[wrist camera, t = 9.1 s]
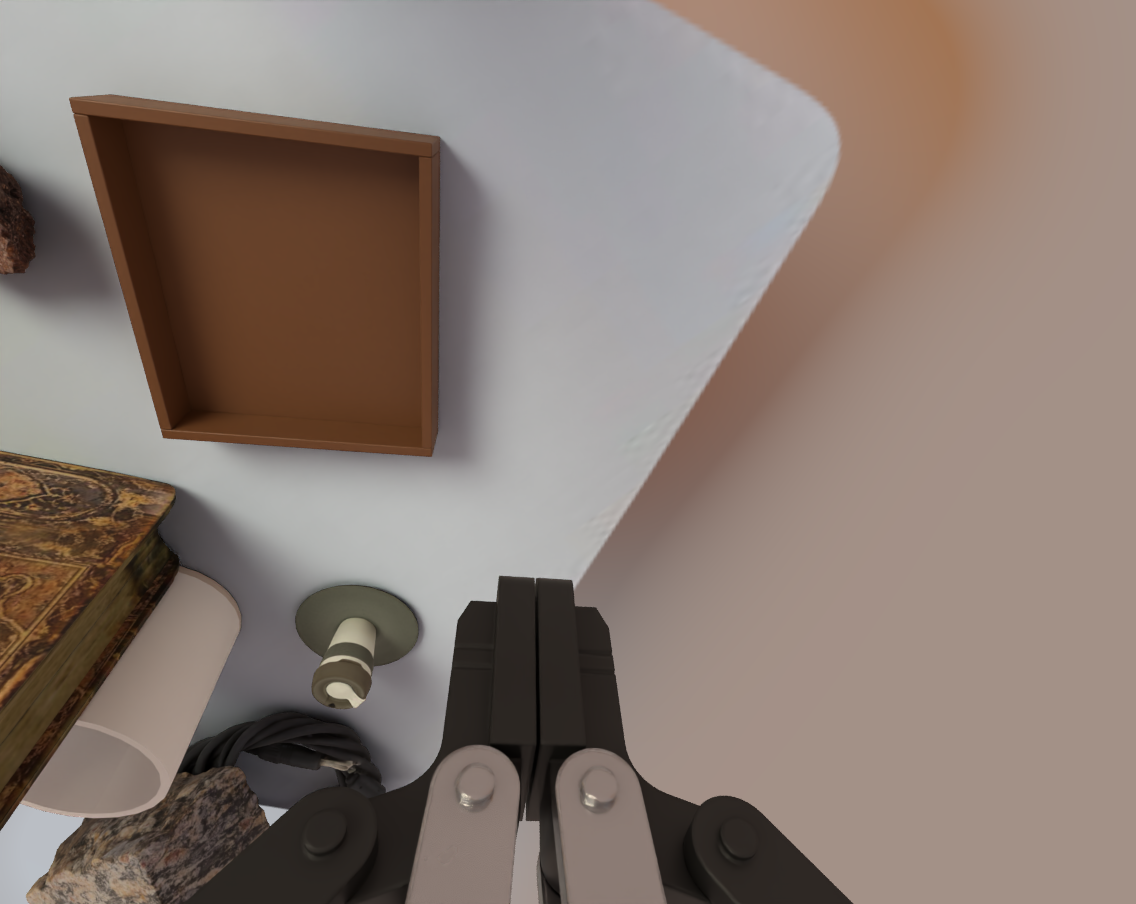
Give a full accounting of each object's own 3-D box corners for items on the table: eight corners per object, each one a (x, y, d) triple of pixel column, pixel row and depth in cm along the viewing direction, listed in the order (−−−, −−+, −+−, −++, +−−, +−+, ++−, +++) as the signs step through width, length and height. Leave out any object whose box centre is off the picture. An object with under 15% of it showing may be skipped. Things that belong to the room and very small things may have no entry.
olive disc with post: (302, 532, 35) (271, 596, 31) (484, 606, 39) (479, 671, 35) (236, 651, 40) (201, 720, 36) (403, 706, 44) (390, 773, 40)
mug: (215, 547, 35) (113, 704, 27) (272, 647, 40) (201, 808, 32) (31, 569, 36) (-130, 732, 27) (109, 666, 40) (-5, 830, 32)
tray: (109, 94, 23) (67, 97, 21) (440, 136, 25) (432, 143, 22) (187, 412, 31) (162, 438, 28) (438, 431, 32) (431, 457, 30)
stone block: (217, 975, 35) (305, 859, 42) (141, 850, 34) (245, 751, 41) (74, 976, 40) (174, 872, 47) (3, 867, 39) (116, 777, 46)
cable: (259, 836, 53) (238, 893, 49) (127, 758, 46) (92, 817, 43) (420, 777, 49) (411, 834, 46) (303, 683, 42) (280, 741, 39)
